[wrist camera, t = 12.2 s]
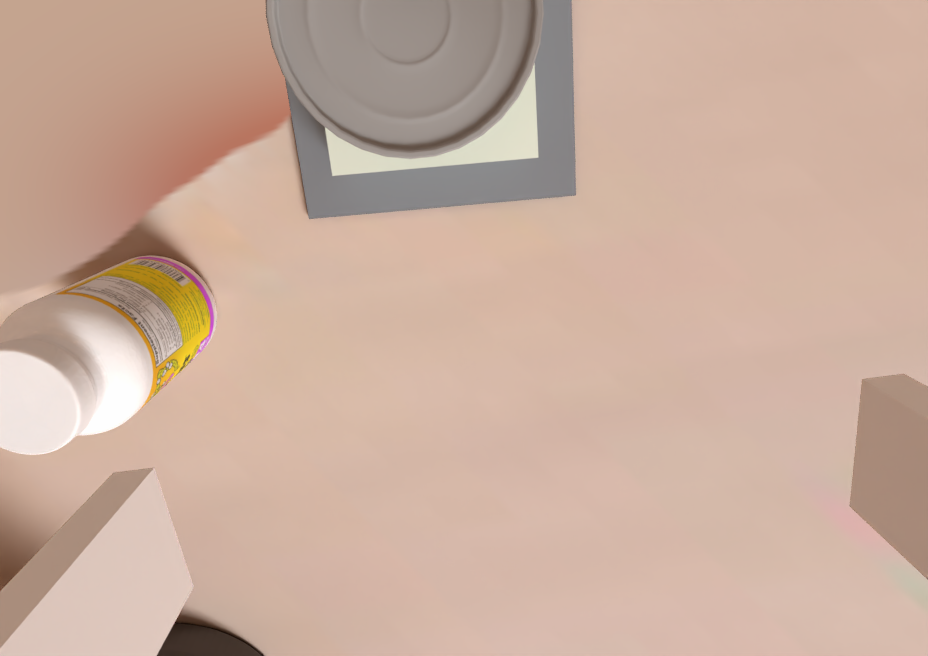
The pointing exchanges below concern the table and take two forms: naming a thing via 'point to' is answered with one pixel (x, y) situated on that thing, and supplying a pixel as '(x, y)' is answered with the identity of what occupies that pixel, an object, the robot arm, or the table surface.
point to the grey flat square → (461, 181)
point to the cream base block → (497, 144)
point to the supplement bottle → (98, 351)
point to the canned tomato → (406, 67)
